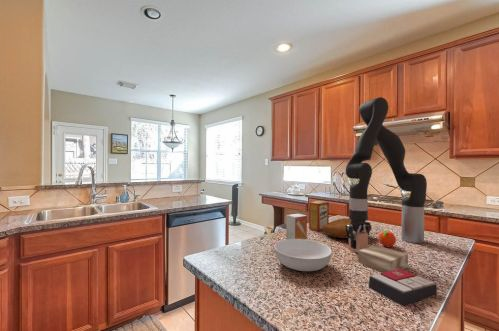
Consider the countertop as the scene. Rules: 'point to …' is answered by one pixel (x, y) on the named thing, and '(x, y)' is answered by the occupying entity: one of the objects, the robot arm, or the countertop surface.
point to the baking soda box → (318, 215)
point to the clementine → (387, 238)
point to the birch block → (383, 258)
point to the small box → (296, 226)
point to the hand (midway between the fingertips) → (358, 247)
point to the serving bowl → (302, 254)
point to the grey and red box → (402, 286)
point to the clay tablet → (338, 228)
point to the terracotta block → (360, 241)
